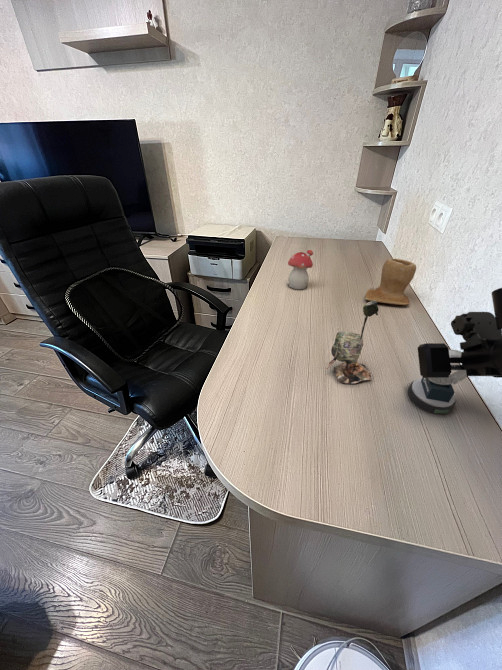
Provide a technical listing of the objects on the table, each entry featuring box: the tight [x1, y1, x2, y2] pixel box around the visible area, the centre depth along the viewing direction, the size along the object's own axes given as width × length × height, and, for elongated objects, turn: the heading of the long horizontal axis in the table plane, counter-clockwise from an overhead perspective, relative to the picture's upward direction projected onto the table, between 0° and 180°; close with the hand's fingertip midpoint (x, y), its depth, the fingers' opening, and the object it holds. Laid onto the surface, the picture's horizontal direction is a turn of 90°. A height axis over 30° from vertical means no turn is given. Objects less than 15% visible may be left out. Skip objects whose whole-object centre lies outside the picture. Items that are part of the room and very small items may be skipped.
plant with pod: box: [325, 300, 379, 384], centre depth 64 cm, size 8×11×20 cm
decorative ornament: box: [287, 249, 314, 290], centre depth 107 cm, size 9×6×15 cm
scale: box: [407, 377, 457, 416], centre depth 63 cm, size 9×9×3 cm
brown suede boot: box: [364, 257, 417, 306], centre depth 98 cm, size 15×12×15 cm
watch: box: [421, 349, 468, 403], centre depth 59 cm, size 6×8×11 cm
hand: (442, 364), depth 59 cm, fingers open, 8 cm apart
